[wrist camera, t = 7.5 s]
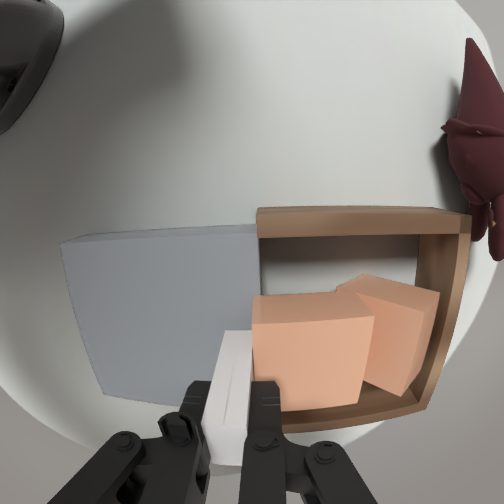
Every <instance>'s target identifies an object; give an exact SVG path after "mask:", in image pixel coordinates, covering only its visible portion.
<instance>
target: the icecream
mask: <svg viewBox="0 0 504 504" xmlns="http://www.w3.org/2000/svg"><path fill="white" fill-rule="evenodd" d="M441 129H442V130H443V131H444V132H445V133H446V134H447V135H448V137H447V145H448V150H449V156H448V161H449V163H450V165H451V166H452V167H453V168H454V171H455V173H456V175H457V177H458V178H459V180H460V181H461V183H462V184H461V186H460V187H461V191H462V194H463V195H464V196H465V197H466V198H467V199H468V200H469V202H470V207H469V212H468V215H471V216H472V226H471V239H470V240H471V241H473V242H477V241H479V240H480V239H481V238H482V237H483V236H484V235H485V232H486V230H487V227H488V245H489V253H490V255H491V256H492V258H493V260H495V261H501V260H502V259H504V92H503V90H502V88H501V86H500V84H499V82H498V80H497V78H496V77H495V75H494V73H493V71H492V69H491V67H490V66H489V64H488V62H487V61H486V59H485V57H484V56H483V54H482V52H481V51H480V49H479V47H478V46H477V45H476V43H475V42H474V40H473V39H472V38H466V46H465V62H464V72H463V80H462V87H461V94H460V100H459V106H458V111H457V116H456V118H450V119H449V120H448V121H447V122H446V124H445V125H443V126H442V127H441ZM490 202H491V207H490Z"/></svg>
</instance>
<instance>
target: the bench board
mask: <svg viewBox="0 0 504 504" xmlns="http://www.w3.org/2000/svg"><path fill="white" fill-rule="evenodd" d="M60 249H61V255H62V260H63V266H64V271H65V276H66V280H67V285H68V289H69V293H70V298H71V302H72V305H73V309H74V313H75V316H76V320H77V323H78V327H79V330H80V333H81V336H82V339H83V342H84V345H85V348H86V351H87V354H88V357H89V360H90V362H91V365H92V368H93V370H94V373H95V375H96V378H97V380H98V383H99V385H100V387H101V390H102V392H103V394H105V395H110V396H114V397H119V398H125V399H130V400H136V401H142V402H148V403H155V404H163V405H171V406H180V407H181V404H182V403H183V399H184V397H185V393H186V391H187V388H188V386H189V385H190V384H191V383H192V382H194V381H195V380H199V381H212V379H213V375H214V371H215V367H216V363H217V359H218V356H219V352H220V348H221V344H222V340H223V337H224V333H225V330H252V307H253V296H256V295H262V291H261V265H260V241H259V238H257V225H256V224H251V225H228V226H208V227H189V228H172V229H157V230H142V231H128V232H115V233H102V234H90V235H83V236H80V237H77V238H74V239H72V240H69V241H66V242H63V243H60Z"/></svg>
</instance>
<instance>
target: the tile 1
mask: <svg viewBox="0 0 504 504" xmlns="http://www.w3.org/2000/svg"><path fill="white" fill-rule="evenodd" d="M374 318H375V315H374V314H373V313H372V312H371V311H370V309H369V308H368V307H367V306H366V305H365V303H364V302H363V301H362V300H361V299H360V297H359V296H358V295H357V294H356V293H355V292H354V290H352V291H338V292H322V293H304V294H283V295H256V296H253V307H252V341H253V361H254V381H275V382H276V384H277V385H278V387H279V388H280V402H281V412H282V411H297V410H309V409H318V408H327V407H335V406H342V405H349V404H355V403H357V402H358V398H359V394H360V390H361V386H362V382H363V377H364V373H365V368H366V363H367V359H368V353H369V348H370V342H371V337H372V331H373V324H374Z"/></svg>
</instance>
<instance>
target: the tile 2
mask: <svg viewBox="0 0 504 504" xmlns="http://www.w3.org/2000/svg"><path fill="white" fill-rule="evenodd" d="M352 290H354V292H355V293H356V294H357V295H358V296H359V297H360V299H361V300H362V301H363V302H364V303H365V305H366V306H367V307H368V308H369V309H370V311H371V312H372V313H373V314H374V315H375V318H374V324H373V331H372V337H371V342H370V348H369V353H368V359H367V363H366V368H365V373H364V377H363V380H364V381H366V382H368V383H370V384H373V385H375V386H377V387H379V388H381V389H384V390H386V391H388V392H391V393H393V394H395V395H398V396H400V397H401V396H402V395H403V393H404V392H405V391H406V389H407V388H408V387H409V385H410V384H411V383H412V381H413V380H414V379H415V377H416V376H417V374H418V373H419V372H420V370H421V367H422V364H423V361H424V358H425V354H426V351H427V348H428V344H429V340H430V336H431V333H432V329H433V325H434V320H435V316H436V311H437V307H438V302H439V297H440V292H436V291H432V290H428V289H424V288H420V287H416V286H412V285H408V284H404V283H400V282H396V281H392V280H388V279H384V278H380V277H376V276H372V275H367V274H362V275H360V276H358V277H356V278H354V279H352V280H350V281H348V282H346V283H343V284H341V285H339V286H337V290H336V292H338V291H352Z"/></svg>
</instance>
